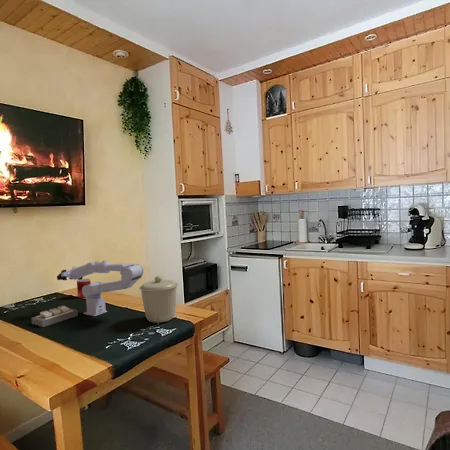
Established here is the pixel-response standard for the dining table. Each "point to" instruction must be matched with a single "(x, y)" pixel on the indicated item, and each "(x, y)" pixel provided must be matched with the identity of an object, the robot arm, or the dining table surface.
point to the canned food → (80, 285)
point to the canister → (159, 299)
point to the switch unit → (54, 318)
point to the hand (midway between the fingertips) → (63, 277)
